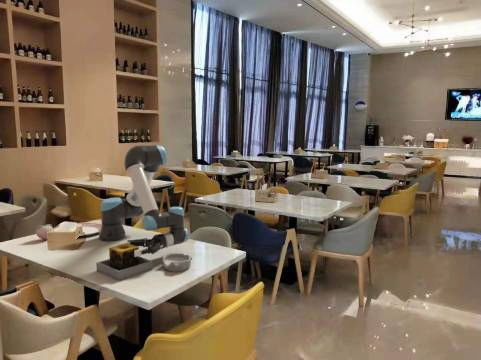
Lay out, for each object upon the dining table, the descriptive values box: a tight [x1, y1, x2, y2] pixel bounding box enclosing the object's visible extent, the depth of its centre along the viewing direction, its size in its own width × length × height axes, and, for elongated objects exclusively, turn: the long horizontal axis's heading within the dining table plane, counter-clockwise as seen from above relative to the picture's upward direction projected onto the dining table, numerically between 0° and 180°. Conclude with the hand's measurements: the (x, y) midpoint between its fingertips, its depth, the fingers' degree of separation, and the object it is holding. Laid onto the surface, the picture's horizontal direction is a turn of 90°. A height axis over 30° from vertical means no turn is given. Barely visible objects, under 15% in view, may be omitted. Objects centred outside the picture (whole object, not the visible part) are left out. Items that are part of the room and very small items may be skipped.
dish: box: [161, 252, 193, 272], centre depth 188 cm, size 14×14×5 cm
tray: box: [95, 256, 153, 282], centre depth 183 cm, size 18×18×4 cm
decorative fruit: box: [35, 222, 54, 241], centre depth 230 cm, size 9×8×10 cm
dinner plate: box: [76, 222, 102, 237], centre depth 246 cm, size 27×27×3 cm
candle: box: [108, 242, 140, 271], centre depth 183 cm, size 10×10×10 cm
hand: (126, 250), depth 183 cm, fingers open, 13 cm apart
